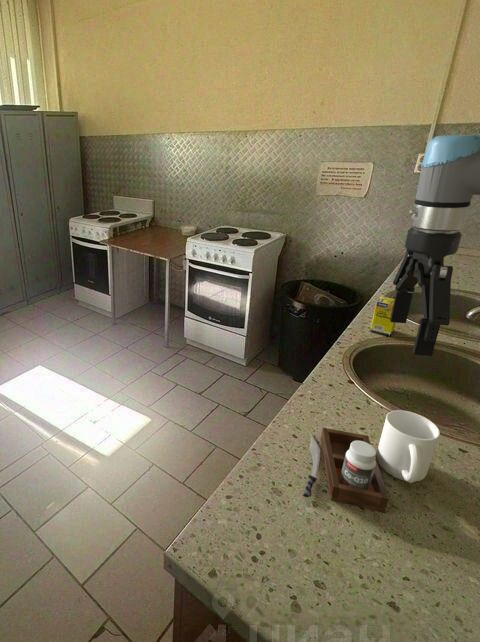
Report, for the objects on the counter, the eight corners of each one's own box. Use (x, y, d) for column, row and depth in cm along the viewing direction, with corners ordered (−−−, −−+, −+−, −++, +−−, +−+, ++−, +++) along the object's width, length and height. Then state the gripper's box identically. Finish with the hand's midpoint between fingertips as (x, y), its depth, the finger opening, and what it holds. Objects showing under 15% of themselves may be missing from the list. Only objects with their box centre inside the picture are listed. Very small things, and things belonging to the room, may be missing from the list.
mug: (435, 505, 69) (450, 460, 66) (379, 489, 73) (392, 445, 69) (421, 458, 79) (434, 416, 76) (373, 446, 83) (383, 405, 79)
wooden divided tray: (365, 448, 82) (368, 435, 81) (385, 513, 68) (389, 499, 67) (320, 439, 85) (322, 427, 84) (330, 500, 71) (333, 486, 70)
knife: (316, 503, 70) (317, 499, 70) (301, 498, 72) (302, 494, 71) (321, 435, 86) (322, 431, 86) (309, 431, 87) (309, 428, 87)
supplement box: (390, 337, 126) (398, 305, 122) (369, 331, 130) (376, 301, 126) (394, 330, 130) (401, 300, 126) (373, 325, 134) (380, 295, 130)
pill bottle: (338, 486, 72) (346, 451, 69) (341, 469, 76) (349, 435, 73) (367, 498, 70) (377, 462, 67) (370, 480, 73) (379, 445, 70)
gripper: (388, 215, 81) (370, 309, 89) (438, 246, 59) (408, 368, 66) (432, 216, 79) (409, 312, 86) (500, 248, 57) (462, 374, 64)
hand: (408, 337), depth 76 cm, fingers open, 13 cm apart
